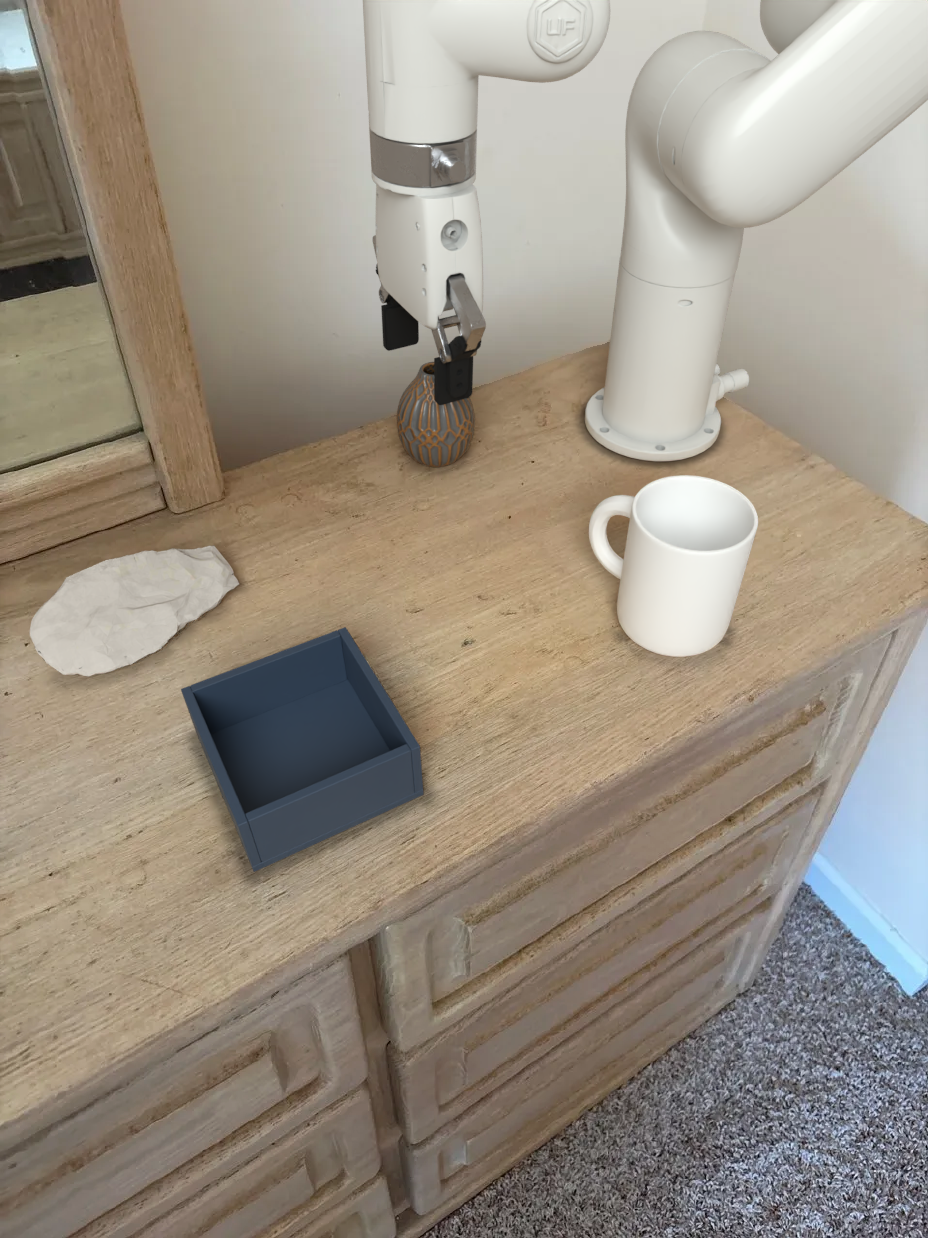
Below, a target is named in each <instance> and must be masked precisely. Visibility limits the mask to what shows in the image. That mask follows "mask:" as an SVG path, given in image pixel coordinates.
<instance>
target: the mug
mask: <svg viewBox="0 0 928 1238" xmlns="http://www.w3.org/2000/svg"><path fill="white" fill-rule="evenodd" d="M614 516H622V517H626V518H628V519H629V523H628V529H627V535H626V536H627V537H626V541H625V547H624V555H623V558H622V557H621V556H619V555H618V554H617V553H616V552H615V551H614V549H613V548H612V546H611V545H610V543H609V540H608V535H607V527H608V523H609V521H610V519H611V518H612V517H614ZM758 527H759V517H758V513H757V510H756V508H755V506H754V504H753V503H752V501H751V499H749V498H748V497H747V496H746V495H745V494H744V493H742V492H741V491H740V490H738V489H737V488H735V487H733V486H731V485H729V484H727V483H725V482H722V481H720V480H717V479H713V478H710V477H706V476H700V475H690V474H683V475H682V474H681V475H669V476H664V477H662V478H657V479H656V480H653V481H651V482H648V483H647V484H646V485H644V486H643V487H642V488H641V489H640V490H638V492H637V493H636V495H635V496H634V495H628V494H616V495H611V496H608V497H606V498H605V499H603V500H601V501H600V502H599V503H598V504H597V505H596V506H595V508H594V510H593V511H592V512H591V515H590V518H589V522H588V538H589V544H590V547H591V549H592V552H593V554H594V556H595V558H596V559H597V561H598V562H599V563H600V565H601V566H602V567H603V568H604V569H605V570H606V571H607V572H609V573H610V574H611V575H612V576H613V577H615V578H617V579H618V580H619V586H618V592H617V599H616V613H617V614H616V615H617V620H618V622H619V625H620V627H621V628H622V630H623V632H624V633H625V635H626V636H627V637H628V638H629V639H630V640H631V641H633V642H634V643H635V644H636V645H638V646H640V647H641V648H643V649H645V650H647V651H649V652H652V653H654V654H657V655H660V656H666V657H671V658H672V657H673V658H685V657H686V658H687V657H693V656H698V655H700V654H704V653H706V652H708V651H710V650H711V649H713V648H715V647H716V646H717V645H718V644H719V643H720V642H721V641H722V640H723V638H724V637H725V635H726V633H727V632H728V630H729V626H730V624H731V621H732V617H733V614H734V610H735V607H736V604H737V601H738V597H739V593H740V590H741V586H742V582H743V579H744V576H745V572H746V570H747V569H746V568H747V565H748V562H749V558H750V554H751V551H752V548H753V545H754V541H755V537H756V534H757V531H758Z"/></svg>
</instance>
